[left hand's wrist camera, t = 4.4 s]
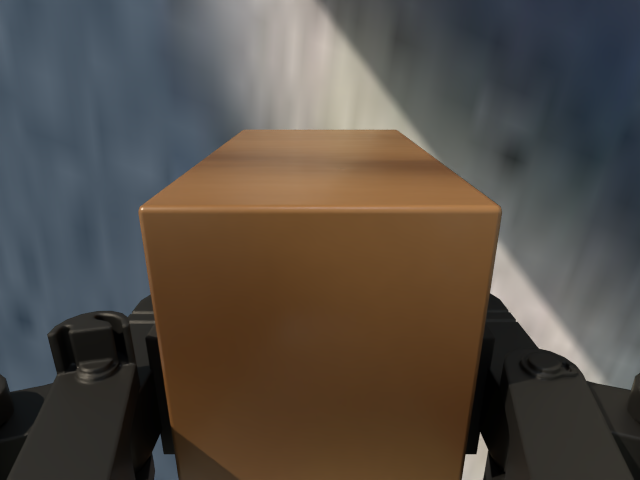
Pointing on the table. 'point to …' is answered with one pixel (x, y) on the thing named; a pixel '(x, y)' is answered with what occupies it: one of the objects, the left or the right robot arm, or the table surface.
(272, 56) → the table surface
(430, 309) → the bar
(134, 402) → the left robot arm
